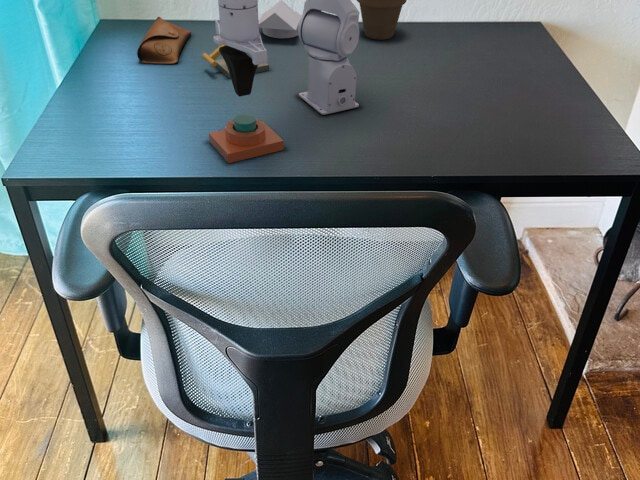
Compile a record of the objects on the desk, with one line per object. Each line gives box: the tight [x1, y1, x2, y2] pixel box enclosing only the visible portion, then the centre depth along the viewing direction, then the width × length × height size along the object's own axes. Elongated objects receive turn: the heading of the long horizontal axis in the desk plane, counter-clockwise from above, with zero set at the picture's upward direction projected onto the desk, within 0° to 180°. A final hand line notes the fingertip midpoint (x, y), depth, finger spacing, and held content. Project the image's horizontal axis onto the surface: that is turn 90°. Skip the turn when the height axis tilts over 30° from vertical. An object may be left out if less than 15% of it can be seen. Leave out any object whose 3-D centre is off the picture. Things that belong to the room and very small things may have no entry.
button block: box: [208, 118, 285, 164], centre depth 110 cm, size 8×10×4 cm
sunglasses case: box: [136, 16, 192, 65], centre depth 141 cm, size 18×7×7 cm, turn 0°
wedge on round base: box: [258, 0, 302, 39], centre depth 148 cm, size 9×7×13 cm
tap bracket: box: [214, 58, 270, 79], centre depth 132 cm, size 9×7×9 cm
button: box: [233, 113, 257, 133], centre depth 108 cm, size 4×4×2 cm
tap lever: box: [201, 44, 227, 68], centre depth 131 cm, size 10×5×2 cm, turn 120°
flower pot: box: [356, 0, 407, 41], centre depth 148 cm, size 12×11×10 cm
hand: (243, 93), depth 105 cm, fingers closed
